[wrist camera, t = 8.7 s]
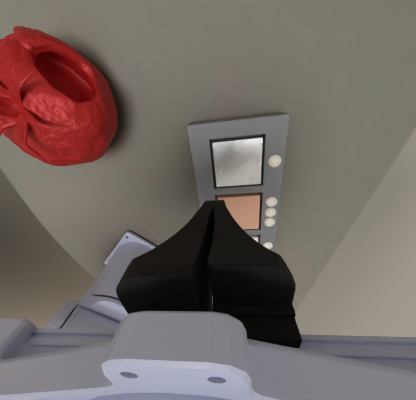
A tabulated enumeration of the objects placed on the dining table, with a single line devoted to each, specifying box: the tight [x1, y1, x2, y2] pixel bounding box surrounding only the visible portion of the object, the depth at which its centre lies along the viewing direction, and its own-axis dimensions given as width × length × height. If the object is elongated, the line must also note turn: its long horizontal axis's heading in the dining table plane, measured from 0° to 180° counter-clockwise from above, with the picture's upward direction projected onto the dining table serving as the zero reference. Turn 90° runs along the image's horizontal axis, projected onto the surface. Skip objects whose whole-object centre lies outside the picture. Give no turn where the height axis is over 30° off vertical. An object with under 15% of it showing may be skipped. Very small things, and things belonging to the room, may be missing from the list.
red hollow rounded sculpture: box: [0, 26, 118, 166], centre depth 14 cm, size 10×10×9 cm
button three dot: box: [218, 192, 260, 229], centre depth 21 cm, size 5×5×2 cm
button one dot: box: [213, 135, 263, 187], centre depth 18 cm, size 5×5×2 cm
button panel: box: [187, 112, 290, 252], centre depth 21 cm, size 20×9×3 cm, turn 6°
